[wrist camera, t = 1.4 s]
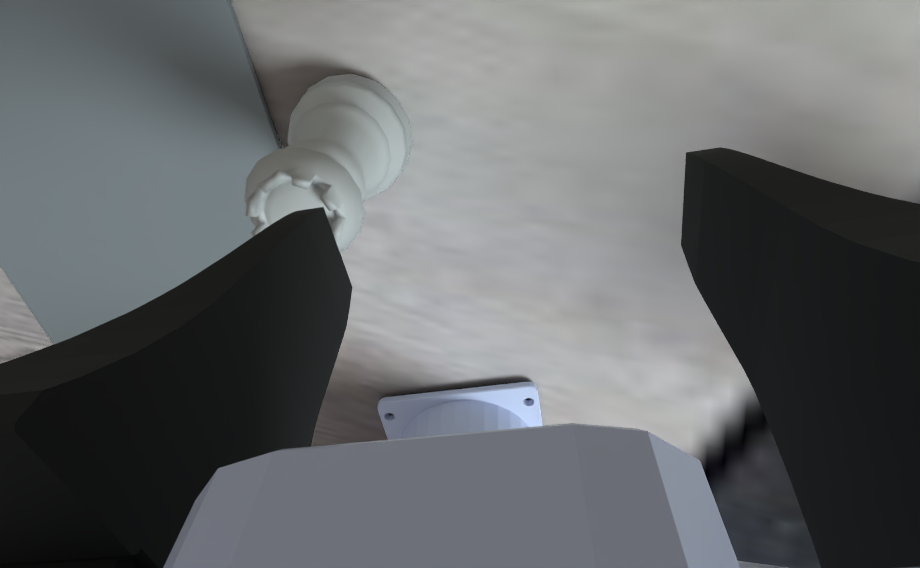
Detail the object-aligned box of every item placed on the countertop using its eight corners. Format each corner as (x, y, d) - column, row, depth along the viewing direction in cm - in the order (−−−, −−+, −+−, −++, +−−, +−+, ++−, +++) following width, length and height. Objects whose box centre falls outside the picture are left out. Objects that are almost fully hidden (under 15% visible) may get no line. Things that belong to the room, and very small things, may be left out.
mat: (339, 314, 26) (337, 318, 25) (65, 350, 27) (60, 354, 27) (194, -102, 17) (190, -104, 17) (-184, -15, 19) (-193, -15, 19)
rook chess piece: (434, 108, 21) (409, 188, 14) (385, 206, 23) (343, 318, 16) (320, 46, 20) (233, 100, 13) (280, 155, 22) (187, 251, 15)
